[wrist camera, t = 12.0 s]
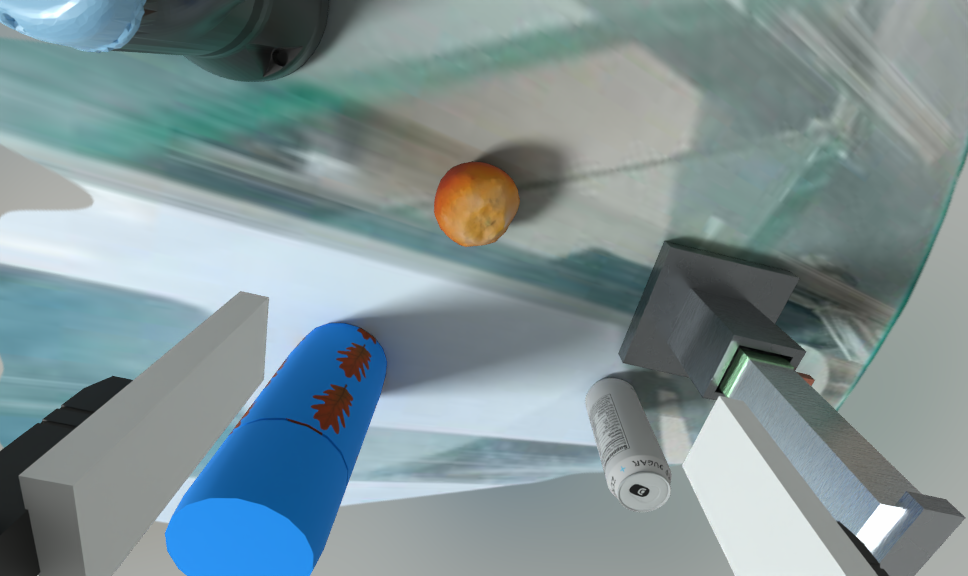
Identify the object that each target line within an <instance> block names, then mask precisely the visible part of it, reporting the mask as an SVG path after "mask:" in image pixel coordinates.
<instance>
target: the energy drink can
mask: <svg viewBox="0 0 968 576" xmlns="http://www.w3.org/2000/svg"><path fill="white" fill-rule="evenodd" d="M585 404H586V408H587V412H588V415H589V419H590V423H591V426H592V430H593V433H594V437H595V441H596V444H597V448H598V452H599V455H600V459H601V462H602V466H603V470H604V473H605V477H606V480H607V484H608V487H609V489H610V491H611V492H612V493H613V494H614V495H615V496H616V497H617V498H618V499H619V501H620V503H621V504H622V505H623V506H624V507H625V508H627V509H629V510H631V511H635V512H648V511H652V510H655V509H657V508H659V507H660V506H662V505H664V504H665V503H666V502H667V500H668V498H669V496H670V493H671V488H670V482H671V471H670V468H669V466H668V464H667V461H666V459H665V457H664V455H663V452H662V450H661V448H660V446H659V443H658V441H657V439H656V437H655V434H654V432H653V430H652V428H651V426H650V423H649V421H648V419H647V417H646V414H645V412H644V410H643V408H642V405H641V403H640V401H639V399H638V396H637V394H636V392H635V390H634V388H633V387H632V386H631V385H630V384H629V383H628V382H626V381H624V380H621V379H617V378H605V379H602V380H599V381H598V382H596V383H595V384H594V385H593V386H592V387H591V388H590V390H589V391H588V393H587V395H586V398H585Z"/></svg>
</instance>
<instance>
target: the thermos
mask: <svg viewBox="0 0 968 576" xmlns="http://www.w3.org/2000/svg"><path fill="white" fill-rule="evenodd" d="M386 367H387V360H386V357H385V354H384V351H383V348H382V347H381V346H380V344H379V343H378V342H377V340H376V339H375V338H374V337H373V336H372V335H370V334H369V333H367V332H366V331H364V330H363V329H361V328H359V327H356V326H353V325H350V324H346V323H329V324H326V325H323V326H320V327H317V328H315V329H314V330H313V331H311V332H310V333H309V334H308V335H307V336H306V337H305V338H304V339H303V340H302V341H301V342H300V343H299V344H298V345H297V347H296V348H295V349H294V350H293V351H292V352H291V353H290V355H289V356H288V357H287V359H286V360H285V361H284V363H283V364H282V365H281V367H280V368H279V369H278V371H277V372H276V373H275V375H274V376H273V377H272V379H271V380H270V381H269V383H268V384H267V385H266V387H265V388H264V389H263V391H262V392H261V393H260V395H259V396H258V397H257V399H256V400H255V401H254V403H253V404H252V405H251V407H250V408H249V409H248V411H247V412H246V413H245V415H244V416H243V417H242V419H241V420H240V421H239V423H238V424H237V425H236V427H235V428H234V429H233V431H232V432H231V433H230V435H229V436H228V438H227V439H226V440H225V441H224V443H223V444H222V445H221V447H220V448H219V449H218V451H217V452H216V453H215V455H214V456H213V457H212V459H211V460H210V461H209V463H208V464H207V465H206V467H205V468H204V469H203V471H202V472H201V473H200V475H199V476H198V477H197V479H196V480H195V481H194V483H193V484H192V485H191V487H190V488H189V489H188V491H187V492H186V493H185V495H184V496H183V498H182V500H181V502H180V503H179V505H178V507H177V509H176V510H175V512H174V514H173V516H172V518H171V520H170V522H169V525H168V528H167V530H166V532H165V537H166V544H167V551H168V553H169V555H170V556H171V558H172V559H173V561H174V562H175V564H176V566H177V567H178V569H179V570H181V571H182V572H183V573H184V574H186V575H187V576H310V574H311V572H312V571H313V569H314V567H315V565H316V563H317V561H318V559H319V557H320V556H321V554H322V551H323V550H324V547H325V545H326V542H327V539H328V536H329V534H330V531H331V528H332V525H333V523H334V520H335V517H336V515H337V512H338V509H339V506H340V504H341V501H342V498H343V495H344V493H345V490H346V486H347V484H348V482H349V479H350V476H351V474H352V471H353V468H354V465H355V463H356V460H357V457H358V454H359V452H360V449H361V446H362V443H363V441H364V438H365V435H366V433H367V430H368V427H369V424H370V422H371V419H372V416H373V413H374V411H375V408H376V405H377V403H378V400H379V397H380V394H381V391H382V387H383V383H384V379H385V376H386Z"/></svg>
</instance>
